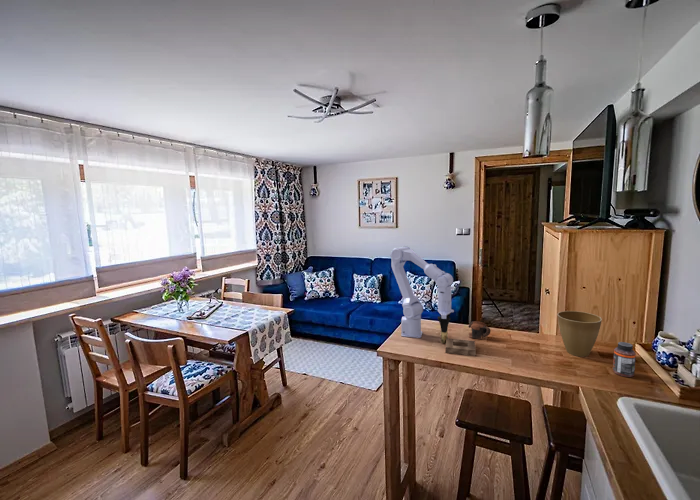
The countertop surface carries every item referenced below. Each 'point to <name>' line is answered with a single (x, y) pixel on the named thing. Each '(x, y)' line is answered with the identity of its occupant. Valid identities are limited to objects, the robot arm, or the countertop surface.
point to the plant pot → (579, 331)
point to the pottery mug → (479, 330)
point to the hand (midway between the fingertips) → (444, 329)
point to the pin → (444, 337)
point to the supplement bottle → (624, 360)
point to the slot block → (460, 347)
